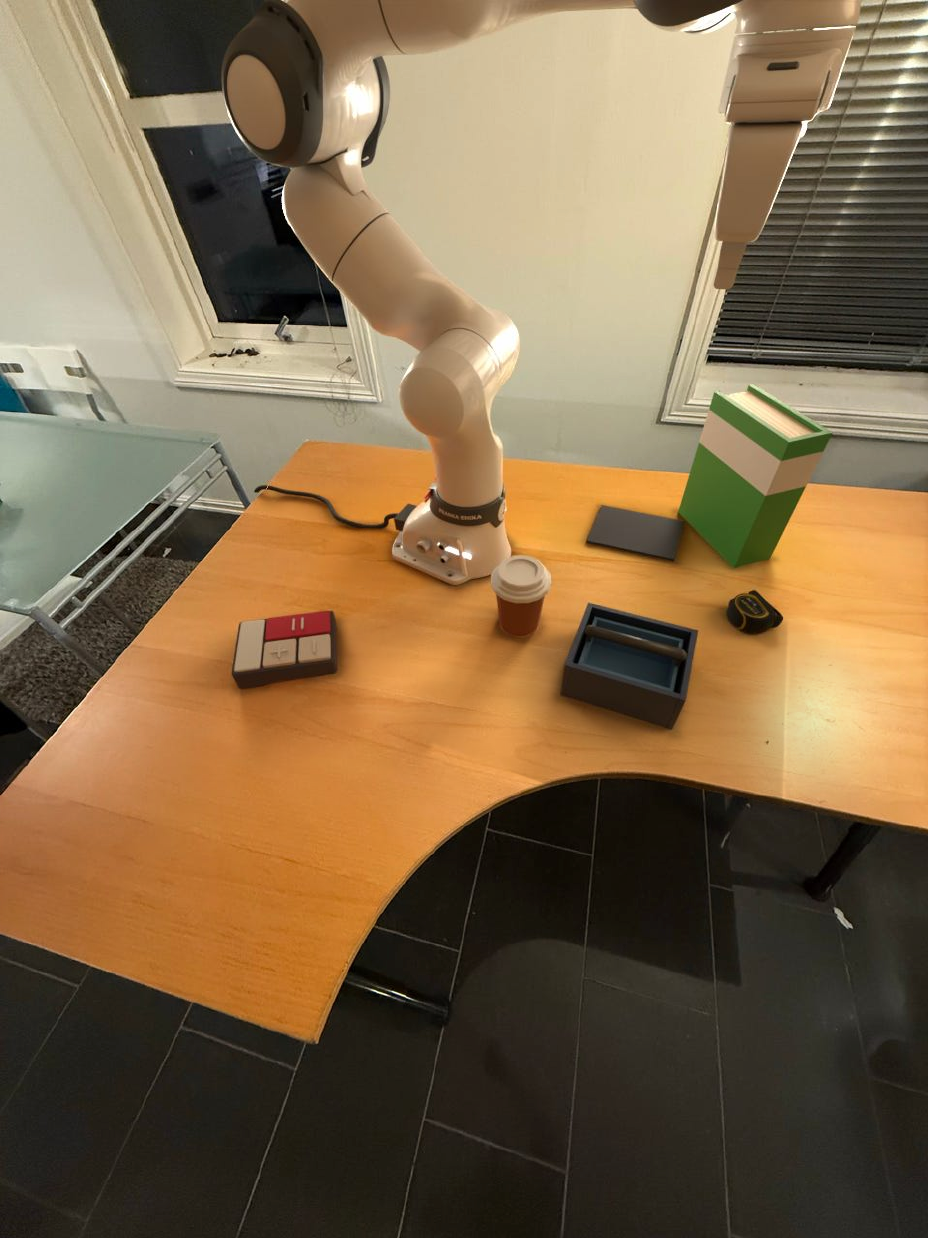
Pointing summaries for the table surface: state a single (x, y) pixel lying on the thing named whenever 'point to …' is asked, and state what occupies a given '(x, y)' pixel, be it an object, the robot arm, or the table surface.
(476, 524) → the robot arm
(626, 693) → the bin
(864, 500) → the table surface
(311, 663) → the button control panel
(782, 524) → the hardback book
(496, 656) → the table surface
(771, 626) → the tape measure
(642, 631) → the inner bin
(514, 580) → the coffee cup
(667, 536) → the mat
